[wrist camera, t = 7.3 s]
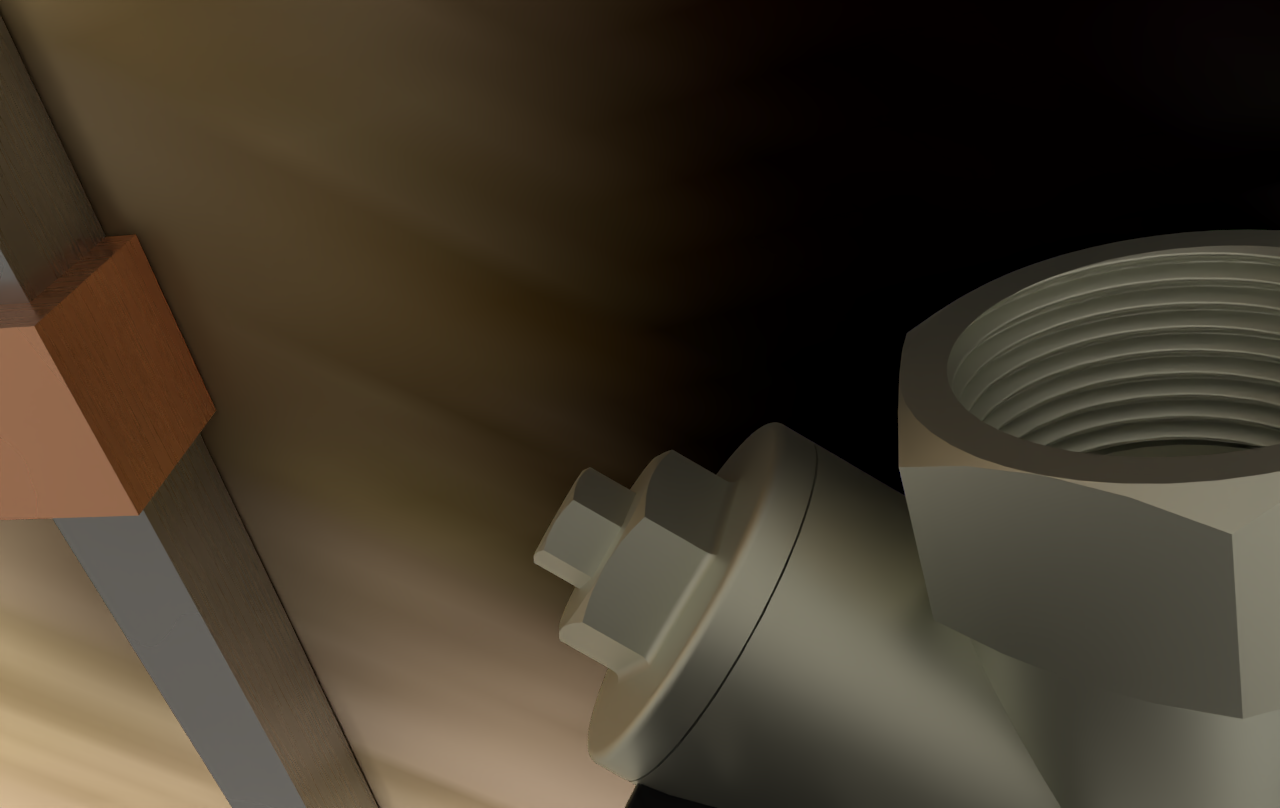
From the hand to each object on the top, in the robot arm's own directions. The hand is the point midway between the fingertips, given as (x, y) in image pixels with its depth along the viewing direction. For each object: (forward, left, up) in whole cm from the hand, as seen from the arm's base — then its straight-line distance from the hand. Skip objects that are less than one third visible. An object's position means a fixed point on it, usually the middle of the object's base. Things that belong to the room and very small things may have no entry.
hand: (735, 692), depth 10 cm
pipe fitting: (-1, +1, 0) cm, 2 cm away
